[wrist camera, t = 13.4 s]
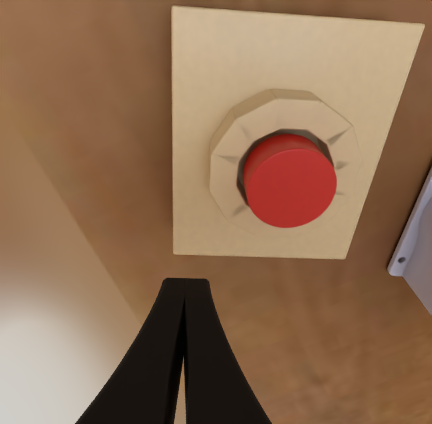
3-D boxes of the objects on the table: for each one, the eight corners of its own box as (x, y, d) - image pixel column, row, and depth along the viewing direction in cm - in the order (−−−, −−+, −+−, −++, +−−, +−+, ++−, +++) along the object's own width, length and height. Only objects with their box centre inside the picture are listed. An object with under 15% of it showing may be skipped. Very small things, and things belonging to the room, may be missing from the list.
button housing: (328, 228, 22) (357, 281, 18) (177, 223, 21) (170, 277, 17) (388, 21, 16) (456, 26, 12) (176, 5, 15) (166, 5, 11)
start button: (314, 209, 16) (325, 230, 14) (238, 206, 16) (242, 227, 14) (332, 135, 14) (348, 150, 12) (247, 131, 14) (252, 146, 12)
